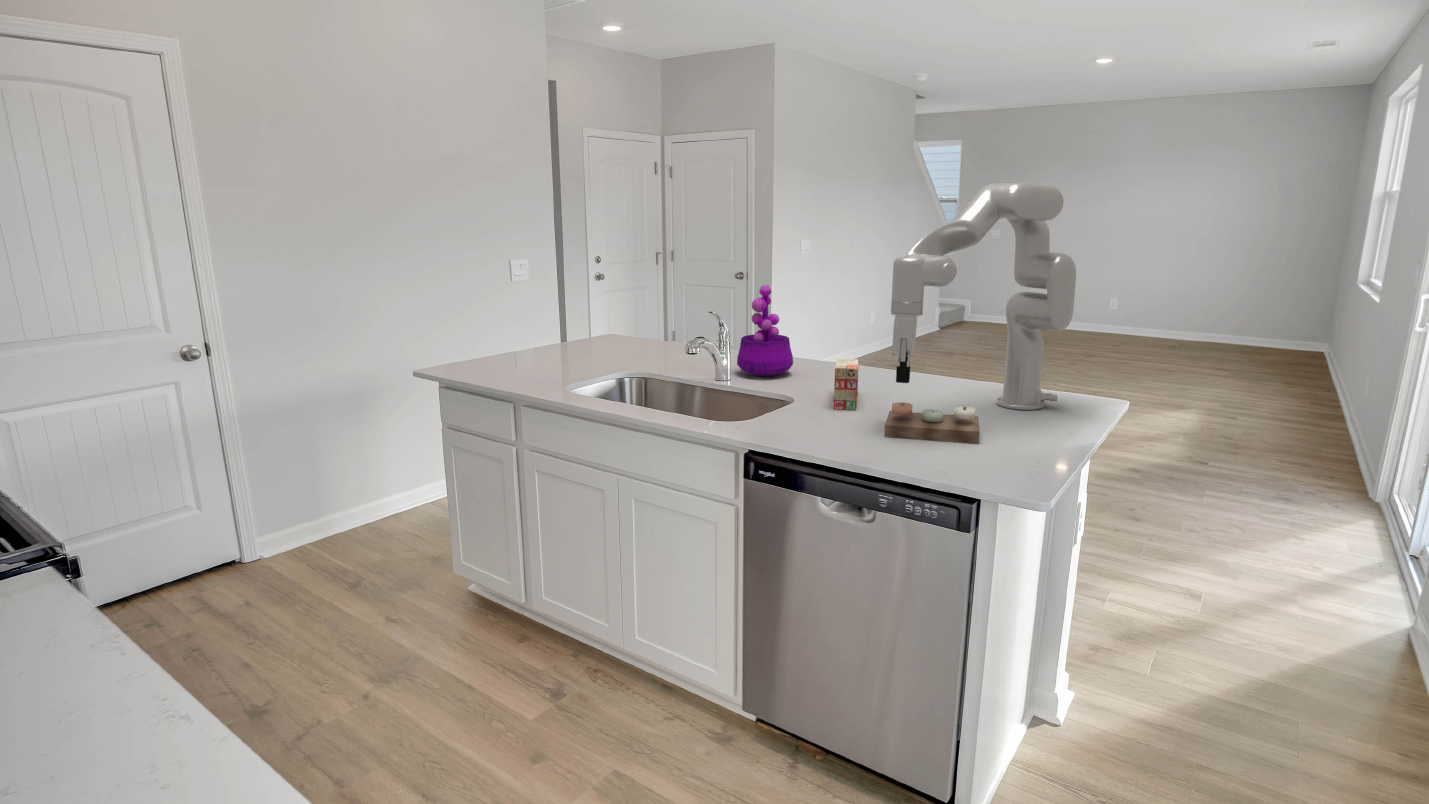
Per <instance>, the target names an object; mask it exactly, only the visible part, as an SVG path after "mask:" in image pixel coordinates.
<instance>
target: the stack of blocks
mask: <svg viewBox="0 0 1429 804" xmlns="http://www.w3.org/2000/svg"><path fill="white" fill-rule="evenodd" d="M833 386H834V392H833V393H834V394H833V395H834V398H833V410H834V411H855V412H856V410H857V407H858V397H859V395H858V394H859V391H858V390H859V359H857V358H855V359H853V358H851V359H850V358H844V359H843V358H836V363H835V367H834V384H833Z"/></svg>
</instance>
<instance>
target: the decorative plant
mask: <svg viewBox="0 0 1429 804" xmlns="http://www.w3.org/2000/svg"><path fill="white" fill-rule="evenodd" d="M758 292H759V294H760V295H761V297H756V298H754V299H753V300H752V302H751V308H752V310H753V311H754V312H756V313H753V314H752V315H751V321H752V323H753V324H754V325H757V327H758V328H759V330H757V331H756V332H755V333H754V334H748V335H744V336H742V337H741V338H740V345H739V349H738V354H737V360H736V365H737V366H738V367H739V369H740V370H741V371H743V372H745V373H747V374H750V375H753V376H759V377H760V376H761V377H770V376H771V377H772V376H778V375H780V374H783V373H786V372H788V371H789V370H790V369H791V368H792V367H793V365H794V355H793V352H792V349H791V343H790V338H789V336H787V335H782V334H780V330H779V328H778V327H776V325H778V324H779V321H780V316H779V315H778V314H776V313H770V314H769V305H770V304H771V303H772V299H771V297H770V295H771V294H772V290H771V287H770V285H767V284H764V285H762V286H760V288H759V290H758Z"/></svg>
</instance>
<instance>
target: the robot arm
mask: <svg viewBox="0 0 1429 804" xmlns="http://www.w3.org/2000/svg"><path fill="white" fill-rule="evenodd" d="M1063 208H1064V196H1063V194H1062V192H1061V191H1060V190H1059V188H1057V187H1056V186H1052V185H1046V184H1045V185H1044V184H1043V185H1042V184H1033V183H1024V182H999V183H990V184H987V185H984V186H983V187H981V188H980V189H979V190H978V192H976V193H975V195H974V196H973V197H972V198H971V199H970V200H969V201H968V203H967V204H966V205H965V206H964V207H963V209H961V210H960V211H959V213H958V214H957V215H956V217H954V218H953V220H951V221H948V222H947V223H945V224H943V225H941V226H939V227H938V228H936V229H935V230H933V231H931V232H929V233H928V234H926V235H925V236H923V237H922V238H921V239H919V240H918V241H917V242H916V243H915V244H914V245H913V246H912V247H911V249H910V250H908V252H907V253H906V255H905V256H900V257H896V258H895V259H894V261H893V266H892V267H893V268H892V284H891V285H892V286H891V301H890V304H891V305H890V315H891V316H894V319H893V320H894V322H893V333H892V346H891V355H892V356H893V357H895V356H896V355H897V366H896V373H895V374H896V375H895V382H896V383H900V384H909V383H910V379H911V365H910V363H911V357H912V356H913V353H914V350H915V343H916V337H917V325H918V317H920V316H923V311H924V293H925V287H935V288H936V287H937V288H938V287H939V288H942V287H946V286H948V285H950V284H951V283H952V282H953V281H954V280H955V278H956V276H957V272H958V271H957V269H958V268H957V265H956V263H955V262H954V260H953V259H952V258H950V257H948V256H945V255H947V254H951V253H953V252H958V251H961V250H965V249H967V248H970V247H972V246H975V245H977V244H979V243H980V242H981V240H983V238H984V237H985V236H986V235H987V233H989V231H990V230H991V229H992V227H994V226H995V225H996V223H997V222H998V221H999V220H1000V219H1006V220H1007V221H1008V223H1009V224H1010V225H1011V227H1012V228H1013V233H1014V236H1015V247H1014V248H1015V250H1014V262H1013V263H1014V266H1013V267H1014V269H1013V273H1014V274H1013V275H1014V281H1015V282H1016V284H1018V285H1019V286H1021V287H1025V288H1031V289H1040V290H1041V289H1042V290H1046V293H1043V292H1036V291H1035V292H1032V291H1022V292H1021V291H1020V292H1017V293H1015V294H1013V295H1012V296H1011V297H1010V298H1009V299H1008V301H1007V303H1006V307H1005V319H1006V325H1007V338H1006V339H1007V340H1006V341H1007V343H1006V353H1005V366H1004V377H1003V387H1002V388H1003V389H1002V395H1001V396H999V397H997V398H996V404H997V405H998V406H999V407H1003V408H1006V409H1012V410H1021V411H1036V410H1040V409H1043V408H1044V407H1045V401H1050V402H1057V401H1058V393H1057V394H1055V393H1054V394H1053V393H1051V392H1043V391H1042V389H1041V378H1042V369H1043V368H1042V367H1043V359H1044V358H1043V356H1044V350H1045V349H1044V348H1045V344H1044V343H1045V342H1044V338H1043V335H1042V332H1041V330H1042V331H1051V332H1061V331H1064V330H1065V329H1066V328H1068V327H1069V325H1070V324H1071V322H1072V319H1073V314H1074V310H1075V309H1074V308H1075V296H1076V283H1077V268H1076V264H1075V261H1074V259H1073V258H1072V257H1071V256H1070V255H1068V254H1065V253H1060V252H1051V249H1050V244H1051V243H1050V241H1051V240H1050V239H1051V238H1050V237H1051V233H1050V229H1049V226H1048V223H1047V222H1048V221H1051V220H1054V219H1056V217H1059V215H1060V213H1061V212H1062V210H1063Z"/></svg>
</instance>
